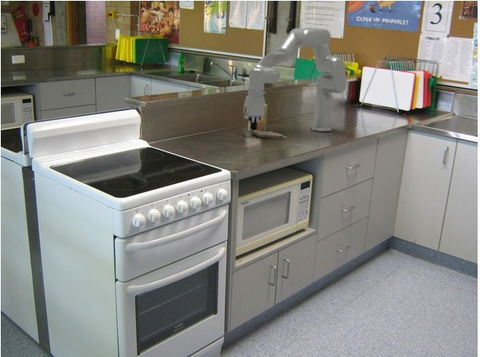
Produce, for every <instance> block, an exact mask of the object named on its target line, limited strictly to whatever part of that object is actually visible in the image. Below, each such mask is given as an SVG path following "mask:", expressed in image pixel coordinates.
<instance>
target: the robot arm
mask: <svg viewBox="0 0 480 357" xmlns="http://www.w3.org/2000/svg"><path fill="white" fill-rule="evenodd" d="M331 37H332V36H331V32H330V31H329V30H328V29H327V28H318V27H304V28H301V27H300V28H299V27H298V28H293V29H291V30H290V31H289V33H288V34H287V36H285V38H284V39H283V41H282V42H281V43H280V44H279V46H278V48H276V49H274V50H272V51H271V52H269V53H268V54H266V55H265V56H263V57H262V58H261V59H260V60H259V62H258V63H257V65H256V66H255V67H251V68H249V70H248V87H247V88H248V89H247V90H248V91H247V95H246V97H245V99H244V104H243V116H244V117H243V118H244V119H246V120H248V121H250V128H251V130H253V131H254V130H256V128H257V123H258V121H259V120H260V119H262V118H264V114H265V104H266V100H265V96H264V94H266V90H264V89H265V87H264V86H265V83H266V84H276V82H278V81H279V80H280V77H281V74H280V71H279V69H276V68H274V66H276V65H278V64H281V63H285V62H287V61H290V60H291V59H292V58H293V57H294V55H295V54H296V52H297V51H299V49H300V47H309V48H310V47H311V49H312V51H313V55H314V62H315V68H316V70H317V72H318V73H321V74H319V75H318V76H317V77H316V81H315V87H316V89H315V91H316V95H315V97H316V98H315V104H314V105H315V106H314V107H315V108H314V114H313V123H312V124H313V125H312V126H313V127H315V128H323V129H324V128H330V127H332V126H337V127H338V123H332V115H333V106H334V96H333V94H343V93H345V90H346V88H347V85H348V84H347V82H348V81H347V75H346V68H345V66H346V65H345V63H344V61H343V59H342V58H341V57H339V56H335V55H331V51H330V50H331V49H330V46H329V43H330V42H331V39H332V38H331ZM332 128H333V127H332Z"/></svg>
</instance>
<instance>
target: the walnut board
mask: <svg viewBox="0 0 480 357" xmlns="http://www.w3.org/2000/svg"><path fill="white" fill-rule="evenodd" d="M249 133H250V134H251V135H254V136H256V137H258V138H266V139H267V138H268V139H278V138H279V139H282V138H284V137H283V136H284V135H283V136H282V134H280V133H278V132H274V131H269V130H268V131H266V130H265V131H255V130H254V131H253V130H250V131H249ZM277 133H278V134H277ZM279 134H280V135H279Z"/></svg>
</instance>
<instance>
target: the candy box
mask: <svg viewBox="0 0 480 357" xmlns="http://www.w3.org/2000/svg"><path fill="white" fill-rule="evenodd" d="M267 114H268V104H266V103H265V114H264V118H262V119H260V120H259V121H258V123H257V128H256V130H255V131H266V130H267V129H266V128H267ZM247 125H248V126H247V131H249V132H250V130H251V128H250V121H249V120H248V124H247Z"/></svg>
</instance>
